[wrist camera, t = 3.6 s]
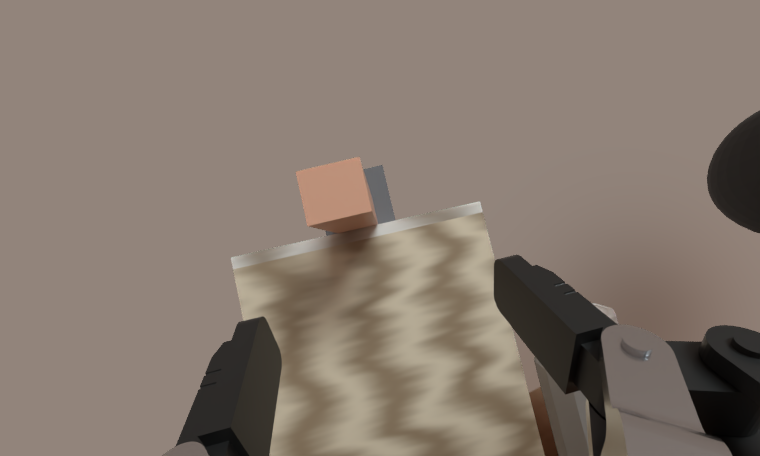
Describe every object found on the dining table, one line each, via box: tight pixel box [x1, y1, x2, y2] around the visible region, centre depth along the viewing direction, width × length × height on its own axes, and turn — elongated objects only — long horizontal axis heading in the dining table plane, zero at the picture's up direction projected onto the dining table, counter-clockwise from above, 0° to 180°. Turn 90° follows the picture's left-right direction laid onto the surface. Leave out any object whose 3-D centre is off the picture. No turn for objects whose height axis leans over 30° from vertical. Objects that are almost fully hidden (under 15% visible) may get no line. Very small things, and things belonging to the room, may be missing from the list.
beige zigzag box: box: [231, 201, 545, 456], centre depth 30 cm, size 22×11×32 cm, turn 95°
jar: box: [534, 304, 619, 456], centre depth 33 cm, size 10×10×18 cm
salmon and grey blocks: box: [296, 157, 395, 236], centre depth 26 cm, size 20×7×6 cm, turn 179°
